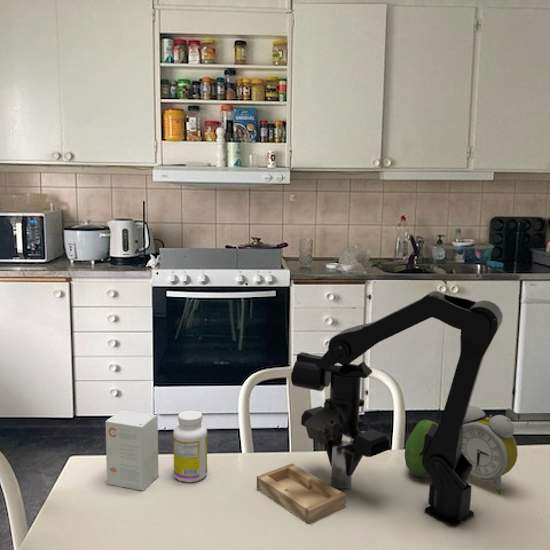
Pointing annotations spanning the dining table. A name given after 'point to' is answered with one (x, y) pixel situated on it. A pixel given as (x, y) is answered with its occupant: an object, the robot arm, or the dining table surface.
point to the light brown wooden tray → (301, 492)
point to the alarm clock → (489, 445)
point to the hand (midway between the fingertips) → (341, 471)
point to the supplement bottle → (190, 447)
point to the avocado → (417, 449)
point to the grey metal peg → (340, 466)
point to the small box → (132, 449)
